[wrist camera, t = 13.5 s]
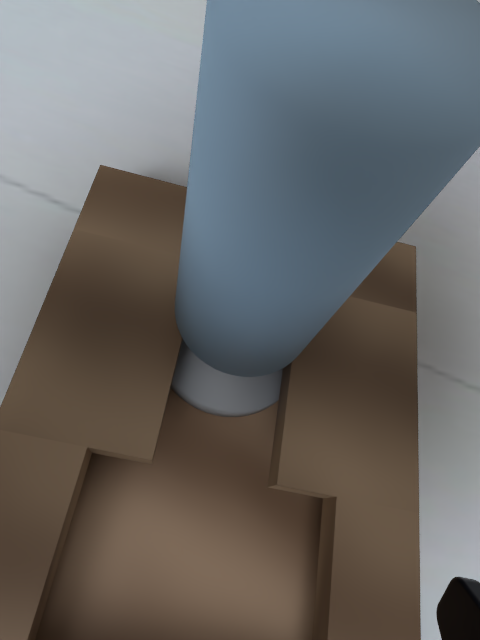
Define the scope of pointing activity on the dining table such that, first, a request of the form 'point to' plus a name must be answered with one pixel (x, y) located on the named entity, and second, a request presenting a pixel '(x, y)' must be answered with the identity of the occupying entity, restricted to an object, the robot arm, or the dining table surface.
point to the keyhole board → (204, 458)
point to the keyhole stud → (309, 172)
